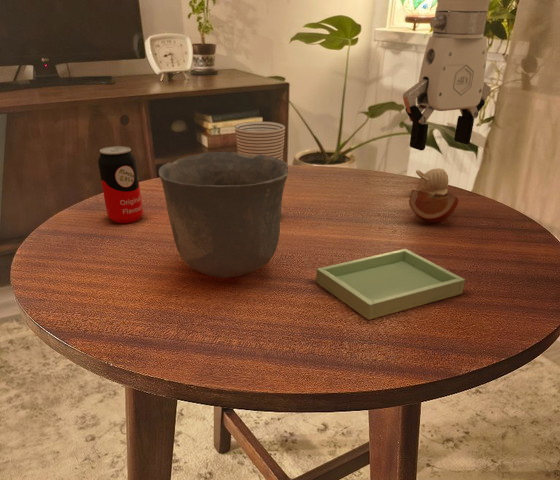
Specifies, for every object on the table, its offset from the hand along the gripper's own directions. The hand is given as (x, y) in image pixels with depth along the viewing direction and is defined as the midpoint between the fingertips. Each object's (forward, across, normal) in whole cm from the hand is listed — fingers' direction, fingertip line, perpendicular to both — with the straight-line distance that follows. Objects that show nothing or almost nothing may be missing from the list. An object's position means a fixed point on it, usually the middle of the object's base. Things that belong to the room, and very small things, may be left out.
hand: (439, 145), depth 94 cm
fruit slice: (+13, 0, -1) cm, 13 cm away
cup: (+13, -26, +15) cm, 33 cm away
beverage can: (+14, -48, +26) cm, 56 cm away
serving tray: (+12, -24, -20) cm, 33 cm away
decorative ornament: (+13, +10, +11) cm, 20 cm away
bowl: (+13, -41, -5) cm, 43 cm away
